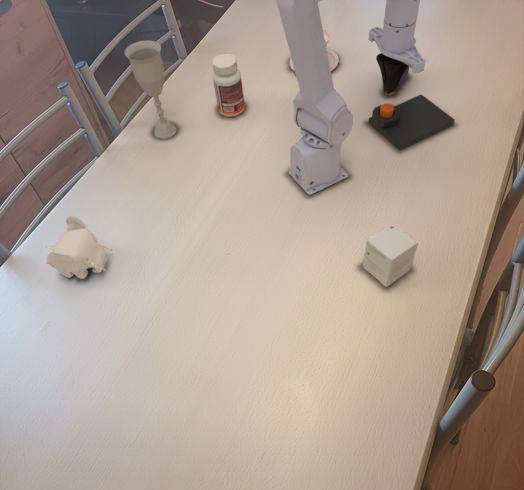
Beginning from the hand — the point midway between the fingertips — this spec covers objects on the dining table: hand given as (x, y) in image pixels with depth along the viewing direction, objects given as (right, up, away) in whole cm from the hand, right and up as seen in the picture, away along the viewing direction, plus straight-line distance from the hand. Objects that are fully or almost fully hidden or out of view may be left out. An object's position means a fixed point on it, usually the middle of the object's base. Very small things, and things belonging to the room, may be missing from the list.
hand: (389, 91), depth 101 cm
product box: (-4, -38, -13) cm, 40 cm away
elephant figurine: (-59, -37, -7) cm, 70 cm away
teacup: (-13, +17, +21) cm, 30 cm away
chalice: (-48, -3, +12) cm, 49 cm away
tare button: (0, -3, +4) cm, 5 cm away
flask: (+5, +8, +14) cm, 17 cm away
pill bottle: (-33, +3, +14) cm, 36 cm away
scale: (+6, -4, +6) cm, 9 cm away
